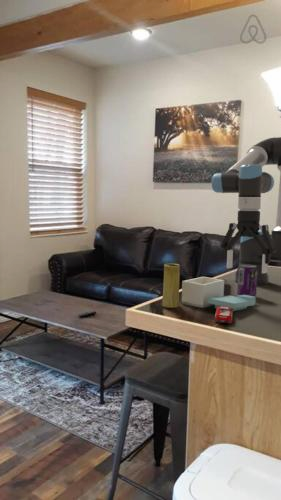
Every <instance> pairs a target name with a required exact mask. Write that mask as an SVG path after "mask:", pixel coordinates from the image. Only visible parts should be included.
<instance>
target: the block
mask: <svg viewBox="0 0 281 500" xmlns="http://www.w3.org/2000/svg"><path fill="white" fill-rule="evenodd" d="M208 303H210V304H215V305H214V308H215V309H216V308H218V307H229V308H231V309H233V312H236V311H241V310H247V307H251V306H255V304H256V296H249V295H238V294H237V295H236V296H233V295H224V296H222V297H213V298H208Z"/></svg>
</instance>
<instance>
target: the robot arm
mask: <svg viewBox="0 0 281 500" xmlns="http://www.w3.org/2000/svg"><path fill="white" fill-rule="evenodd" d="M268 165H269V166H270V165H271V166H272V165H273V166H274V165H277V166H276V167H277V168H276V169H277V170H278V171H279V174H280V175H279V183H278V185H279V187H278V196H277V197H278V198H277V207H276V219H275V227H273V228H272V230H271V234H270V230H269V228H270V227H269V225H268V224H262V225H260V222H261V221H260V220H261V219H260V218H261V211H260V209H261V200H262V199H261V197H262V194H265V193H269V192H270V191H271V190H272V189H273V188H274V185H275V178H274V177H273V176H272V174H270V173H268V172H266V171H263V167H264V166H268ZM211 188H212V191H213V192H214V193H217V194H218V193H219V194H220V193H222V194H238V198H237V199H238V202H237V203H238V204H237V208H238V211H237V223H235V222H231V223H229V224H228V229H227V232H226V233H225V236H224V237H223V240H222V242H221V244H220V248H221V249H222V248H223V249H224V251H225V252H224V253H225V255H224V258H225V259H226V269H231V268H233V262H234V261H233V259H234V257H233V256H234V255H233V253H234V250H233V249H232V248H233V247H234V246H235V244H236V243H238V241H239V240H240V241H239V264H238V267H237V270H236V272H235V275H234V282H236V283H238V270H239V268H240V265H244V264H246V265H255V266H257V267H256V268H257V271H258V272H257V285H258V286H259V285H260V286H261V285H268V284H270V283H269V282H270V277H269V273H268V265H269V264H270V263H271V262H279V263H281V136H279V137H269V138H266V139H264V140H261V141H259V142H258V143H256V144H254V145H253V146H251V147H250V148H249V149H248V150H247V152H246V155H244V156H243V157H242V158H241V159H239V160H238V161H237V162H235V163H234V164H233V165H232V166H231V167H230V168H229V169H227V170H226V171H224V172H216V173H215V174H214V175H213V176H212V177H211ZM236 229H237V232H236V233H235V230H236ZM234 233H235V235H234ZM233 235H234V237H233ZM231 238H232V239H231Z"/></svg>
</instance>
